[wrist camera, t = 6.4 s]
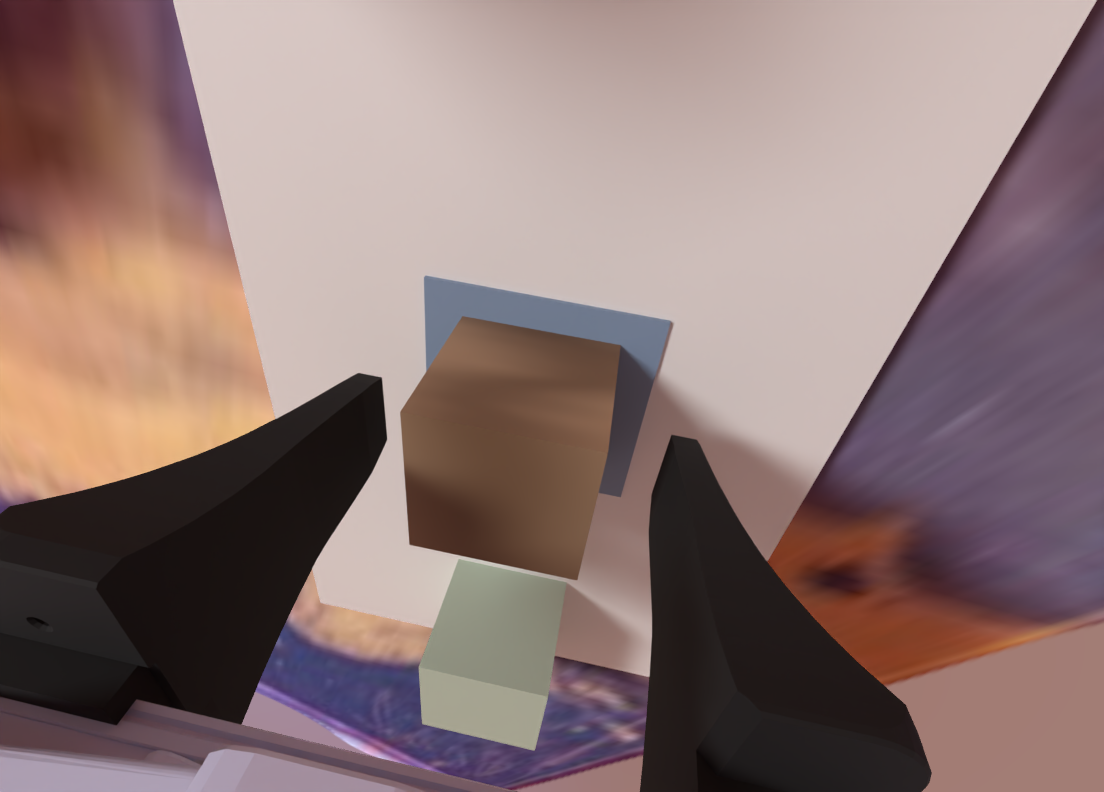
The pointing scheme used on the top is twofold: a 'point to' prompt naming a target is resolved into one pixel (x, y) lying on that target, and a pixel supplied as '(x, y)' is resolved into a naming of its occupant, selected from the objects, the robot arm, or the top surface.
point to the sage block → (492, 654)
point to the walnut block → (509, 445)
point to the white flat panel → (605, 226)
